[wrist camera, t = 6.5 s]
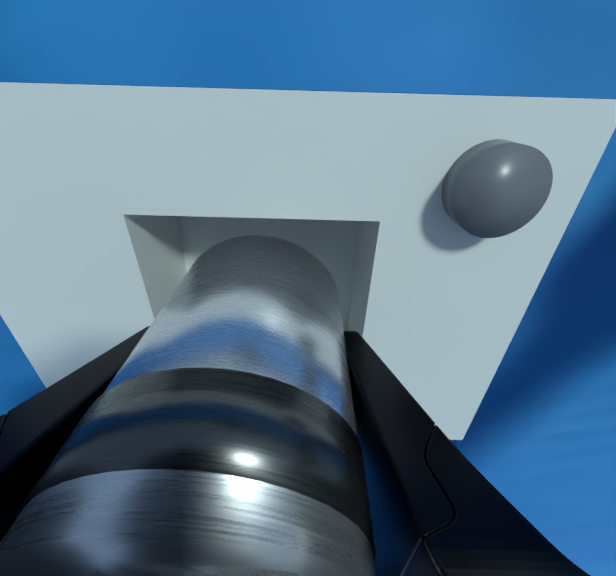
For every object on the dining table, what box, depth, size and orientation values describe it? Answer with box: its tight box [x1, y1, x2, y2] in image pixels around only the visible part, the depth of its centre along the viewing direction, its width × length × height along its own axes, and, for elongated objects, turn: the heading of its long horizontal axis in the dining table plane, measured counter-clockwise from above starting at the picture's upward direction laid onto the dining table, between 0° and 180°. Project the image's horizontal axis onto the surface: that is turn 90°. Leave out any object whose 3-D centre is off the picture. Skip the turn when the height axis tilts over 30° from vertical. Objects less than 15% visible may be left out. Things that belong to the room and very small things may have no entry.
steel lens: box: [0, 235, 376, 576], centre depth 7 cm, size 5×5×7 cm
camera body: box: [0, 82, 616, 440], centre depth 11 cm, size 16×12×6 cm
